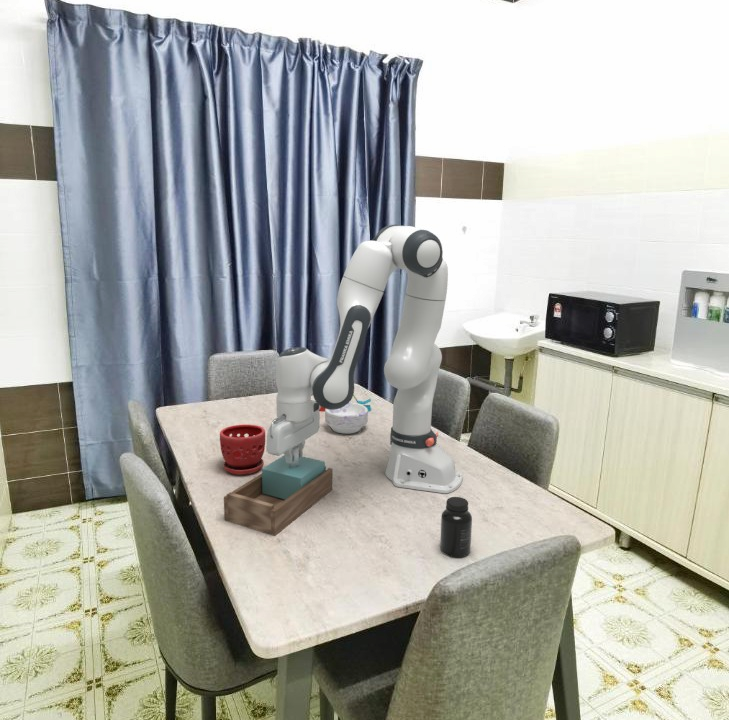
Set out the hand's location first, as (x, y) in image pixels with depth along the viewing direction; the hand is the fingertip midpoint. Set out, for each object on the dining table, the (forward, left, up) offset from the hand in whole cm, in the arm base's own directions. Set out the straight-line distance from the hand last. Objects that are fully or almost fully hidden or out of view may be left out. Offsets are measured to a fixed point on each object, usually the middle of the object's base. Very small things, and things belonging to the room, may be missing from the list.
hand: (294, 459), depth 150 cm
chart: (+27, -67, -11) cm, 73 cm away
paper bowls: (+12, -51, -10) cm, 53 cm away
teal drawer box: (0, 0, -9) cm, 9 cm away
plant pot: (+23, -7, -10) cm, 26 cm away
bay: (0, +6, -10) cm, 12 cm away
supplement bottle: (-46, +5, -10) cm, 48 cm away
